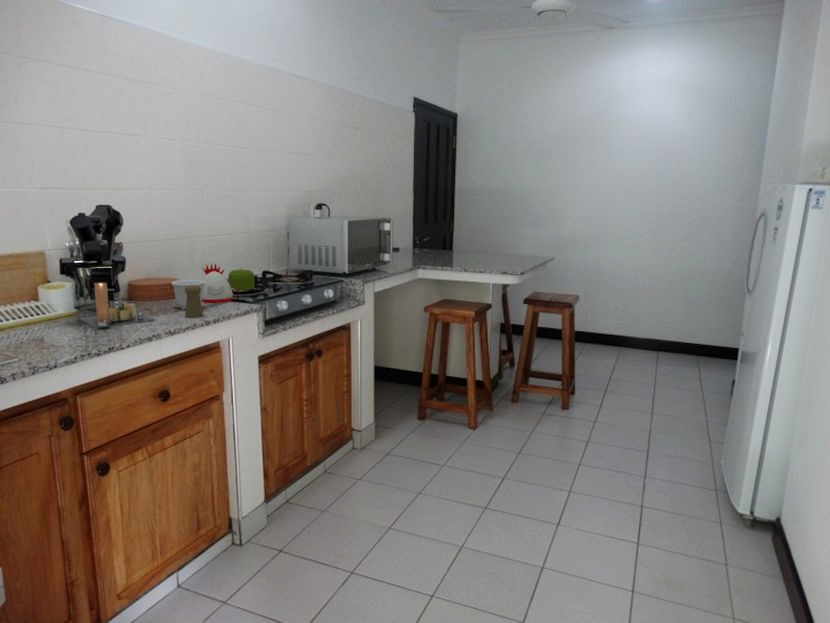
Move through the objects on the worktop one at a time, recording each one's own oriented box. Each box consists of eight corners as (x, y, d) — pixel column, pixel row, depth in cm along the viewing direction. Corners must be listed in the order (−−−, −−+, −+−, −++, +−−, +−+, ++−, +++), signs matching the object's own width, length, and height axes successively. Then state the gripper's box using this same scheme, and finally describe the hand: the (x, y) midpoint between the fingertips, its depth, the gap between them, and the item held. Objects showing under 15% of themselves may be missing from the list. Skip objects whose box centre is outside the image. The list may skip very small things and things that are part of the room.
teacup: (182, 314, 204) (180, 286, 202) (167, 307, 215) (166, 281, 213) (215, 310, 212) (214, 283, 210) (199, 304, 223) (198, 278, 221)
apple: (240, 295, 243) (239, 270, 241) (223, 293, 249) (222, 268, 247) (260, 292, 253) (259, 267, 250) (243, 289, 258) (242, 265, 256)
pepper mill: (205, 314, 204) (204, 283, 202) (200, 318, 198) (198, 286, 196) (188, 314, 204) (186, 283, 202) (182, 317, 198) (180, 286, 196)
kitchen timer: (196, 298, 235) (194, 262, 232) (231, 296, 240) (229, 261, 238) (197, 304, 223) (195, 266, 220) (234, 302, 228) (233, 265, 225)
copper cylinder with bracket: (104, 314, 196) (101, 275, 194) (139, 314, 198) (136, 275, 196) (82, 327, 177) (78, 284, 174) (121, 327, 179) (117, 283, 176)
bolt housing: (78, 319, 192) (77, 300, 191) (134, 312, 205) (133, 294, 203) (97, 328, 180) (95, 308, 178) (155, 320, 192) (154, 301, 191)
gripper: (56, 232, 178) (63, 271, 172) (122, 231, 189) (131, 268, 182) (56, 255, 186) (63, 293, 179) (120, 253, 197) (128, 289, 190)
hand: (97, 285), depth 183 cm, fingers open, 9 cm apart
